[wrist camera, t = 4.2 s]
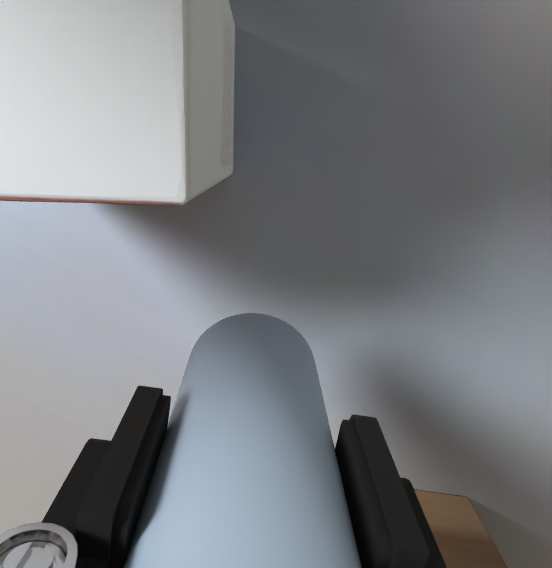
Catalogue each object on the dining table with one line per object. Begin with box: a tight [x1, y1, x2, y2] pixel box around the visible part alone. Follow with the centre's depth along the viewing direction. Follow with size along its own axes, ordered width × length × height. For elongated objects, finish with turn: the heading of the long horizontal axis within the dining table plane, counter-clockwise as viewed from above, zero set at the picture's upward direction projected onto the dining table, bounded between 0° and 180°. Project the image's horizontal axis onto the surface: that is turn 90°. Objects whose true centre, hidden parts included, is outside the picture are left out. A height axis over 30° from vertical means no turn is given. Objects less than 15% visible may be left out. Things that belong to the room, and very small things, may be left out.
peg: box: [123, 313, 362, 568], centre depth 10 cm, size 4×4×12 cm
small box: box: [0, 0, 235, 205], centre depth 15 cm, size 8×6×13 cm
